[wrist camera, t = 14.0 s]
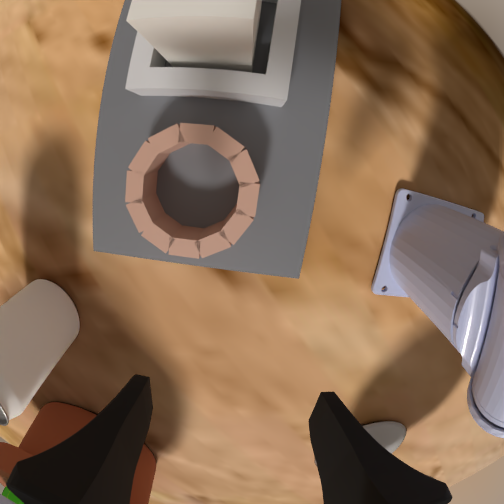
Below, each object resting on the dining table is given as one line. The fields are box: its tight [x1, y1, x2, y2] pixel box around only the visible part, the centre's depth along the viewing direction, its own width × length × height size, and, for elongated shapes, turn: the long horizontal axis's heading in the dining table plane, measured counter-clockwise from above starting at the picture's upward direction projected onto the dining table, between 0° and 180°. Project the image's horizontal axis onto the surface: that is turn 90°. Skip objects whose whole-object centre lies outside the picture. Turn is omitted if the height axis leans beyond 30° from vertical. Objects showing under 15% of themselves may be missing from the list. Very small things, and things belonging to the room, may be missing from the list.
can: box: [0, 279, 80, 426], centre depth 16 cm, size 6×6×12 cm
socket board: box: [93, 0, 341, 279], centre depth 15 cm, size 14×20×4 cm
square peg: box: [126, 0, 262, 73], centre depth 10 cm, size 4×4×8 cm
